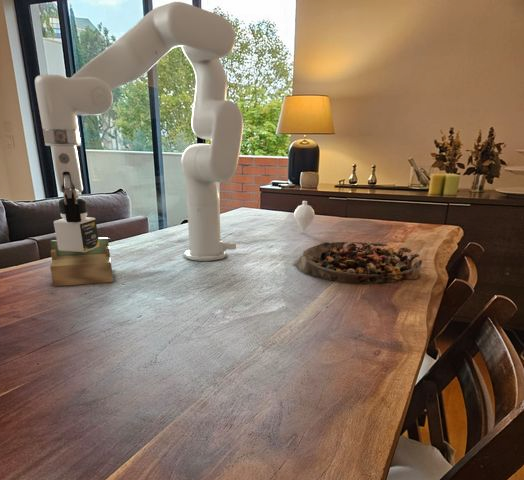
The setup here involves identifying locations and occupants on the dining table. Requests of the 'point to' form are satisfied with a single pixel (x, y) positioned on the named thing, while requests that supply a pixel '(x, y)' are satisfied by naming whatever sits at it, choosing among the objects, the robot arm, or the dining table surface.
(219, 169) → the robot arm
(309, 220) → the spinning top
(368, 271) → the food dish
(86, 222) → the medicine bottle
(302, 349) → the dining table surface
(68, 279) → the spice rack
